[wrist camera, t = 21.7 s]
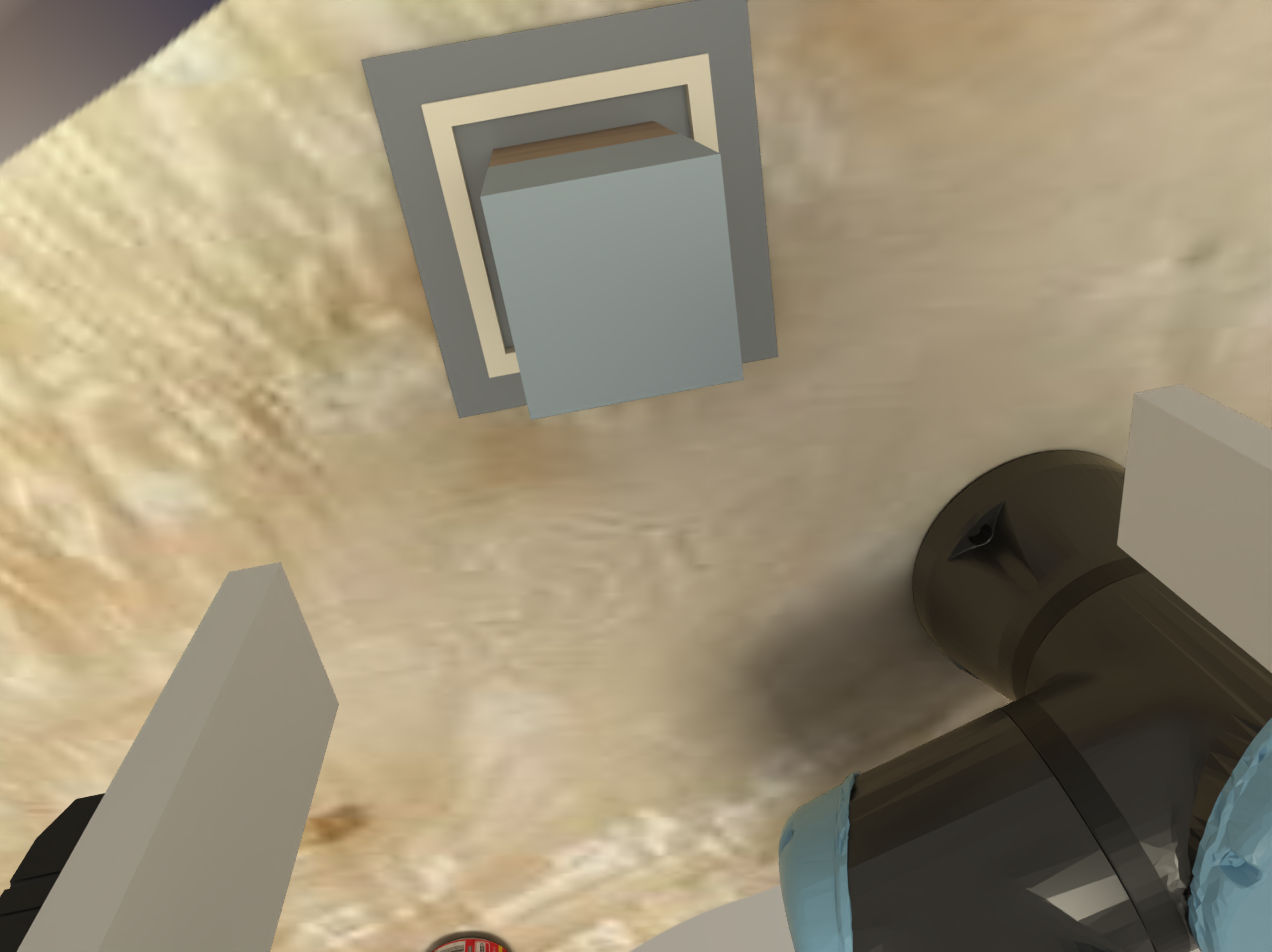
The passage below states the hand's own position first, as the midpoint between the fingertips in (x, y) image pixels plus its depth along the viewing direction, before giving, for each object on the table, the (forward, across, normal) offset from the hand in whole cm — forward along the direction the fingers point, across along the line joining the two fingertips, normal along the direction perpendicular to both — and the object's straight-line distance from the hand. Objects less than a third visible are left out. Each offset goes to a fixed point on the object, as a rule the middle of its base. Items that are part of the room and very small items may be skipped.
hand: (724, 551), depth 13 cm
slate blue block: (+22, 0, 0) cm, 22 cm away
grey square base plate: (+31, 0, 0) cm, 31 cm away
